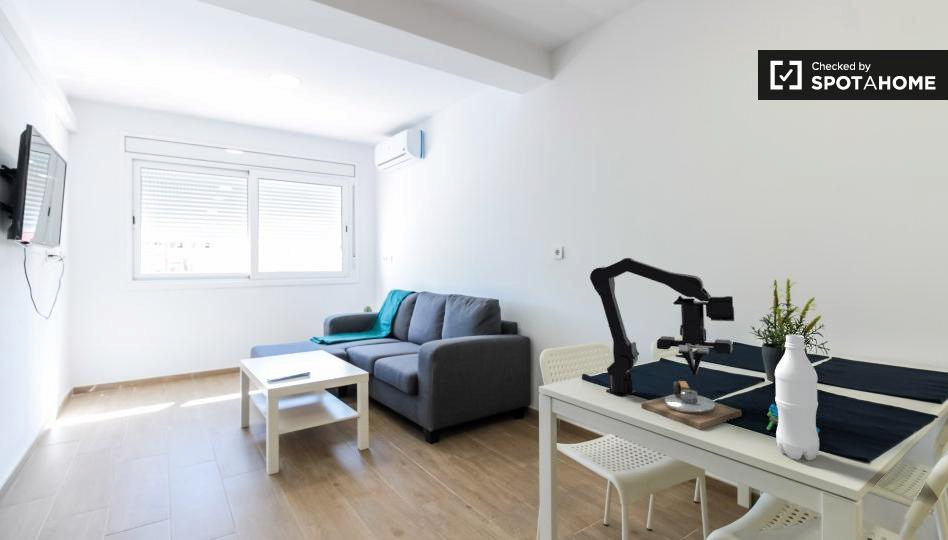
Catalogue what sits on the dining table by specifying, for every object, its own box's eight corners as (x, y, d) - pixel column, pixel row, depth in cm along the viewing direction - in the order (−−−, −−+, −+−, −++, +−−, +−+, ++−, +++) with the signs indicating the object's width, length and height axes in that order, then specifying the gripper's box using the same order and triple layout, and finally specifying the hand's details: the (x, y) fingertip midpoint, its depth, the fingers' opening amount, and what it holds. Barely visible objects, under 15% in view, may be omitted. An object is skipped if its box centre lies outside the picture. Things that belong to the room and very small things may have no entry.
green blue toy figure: (832, 435, 96) (799, 406, 96) (818, 457, 95) (786, 428, 94) (787, 423, 107) (758, 397, 106) (775, 443, 106) (745, 417, 105)
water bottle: (821, 466, 87) (819, 340, 86) (777, 458, 90) (774, 338, 90) (817, 451, 93) (814, 333, 92) (775, 445, 97) (772, 331, 96)
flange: (720, 414, 111) (719, 400, 110) (668, 412, 114) (667, 398, 114) (705, 393, 127) (704, 380, 127) (660, 391, 130) (659, 379, 130)
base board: (641, 407, 123) (640, 388, 123) (681, 397, 130) (680, 378, 129) (699, 429, 107) (698, 407, 106) (741, 416, 113) (740, 395, 113)
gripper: (733, 317, 126) (734, 371, 127) (663, 315, 137) (665, 364, 137) (729, 323, 117) (731, 381, 118) (655, 320, 128) (657, 373, 128)
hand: (694, 374), depth 126 cm, fingers closed
